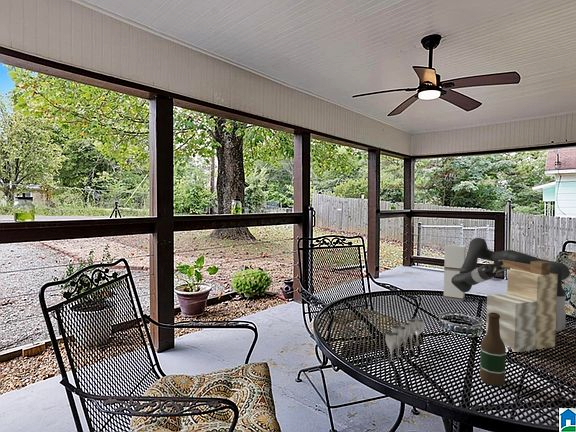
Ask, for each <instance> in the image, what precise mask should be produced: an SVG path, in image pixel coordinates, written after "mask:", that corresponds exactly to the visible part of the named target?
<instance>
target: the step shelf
mask: <svg viewBox="0 0 576 432" xmlns="http://www.w3.org/2000/svg"><path fill="white" fill-rule="evenodd" d="M557 279H558V274H554V273H550V274H546V275H540V274H534V273H530V272H526V271H521V270H516V269H507V282H506V283H507V284H506V285H507V286H506V289H507V291H506V293H497V294H487V296H486V318H485V319H486V323H485V325H486V326H485V336H486V335H487V330H488V321H489V316H488V314H489V313H491V312H493V313H498V314H499V315H500V318H499V325H500V337H501V339H502V341H503V343H504V345H507V346H509V347H511V349H512V351H513V352H520V353H525V351H526V352H531V351H530V350H532V351H536V350H535V349H538V350H542V349H543V348H544V349H549V348H555V347H556V332H557V331H556V305H557Z"/></svg>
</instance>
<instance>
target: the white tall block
mask: <svg viewBox="0 0 576 432" xmlns="http://www.w3.org/2000/svg"><path fill="white" fill-rule="evenodd" d="M466 256H467V245H463V244H446V245H444V264H443V265H444V266H443V268H444V269H443V271H444V273H443V297H442V298H443V299H444V300H449V301H457V302H462V303H463V302H464V300H465V298H466V295H465V293H466V292H465V293H464V292H462V291H460V290H459V289H458V288H457V287H455V286H454V285H453V284H452V282H451V279H452V277H453V276H455V275H456V274H459V272H460V269H461V267H462V265H463V264H464V261H465V259H466Z"/></svg>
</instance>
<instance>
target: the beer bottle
mask: <svg viewBox="0 0 576 432" xmlns="http://www.w3.org/2000/svg"><path fill="white" fill-rule="evenodd" d="M488 316H489V321H488V330H487V335H486V334H485V335H484V337H483V338H482V340H481V343H480V351H479V352H480V354H479V355H480V360H479V378H480V380H481V381H482V382H483V383H485V384H486V385H489V386H495V387H501V386H503V385H505V381H506V363H507V362H506V361H507V359H506V358H507V350H506V348H505V345H504V343H503V341H502V339H501V337H500V325H499V318H500V315H499V314H498V313H493V312H491V313H489V314H488Z"/></svg>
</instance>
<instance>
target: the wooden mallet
mask: <svg viewBox="0 0 576 432" xmlns="http://www.w3.org/2000/svg"><path fill="white" fill-rule="evenodd" d="M498 261H503V264H504V265H502V266H501V267H506V268H509V269H510V270H512V269H516V270H521V271H526V272H530V273H534V274H540V275H546V274H550V263H548V262H542V261H531V263H530V264H525V263H519V262H514V261H508V260H498Z"/></svg>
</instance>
